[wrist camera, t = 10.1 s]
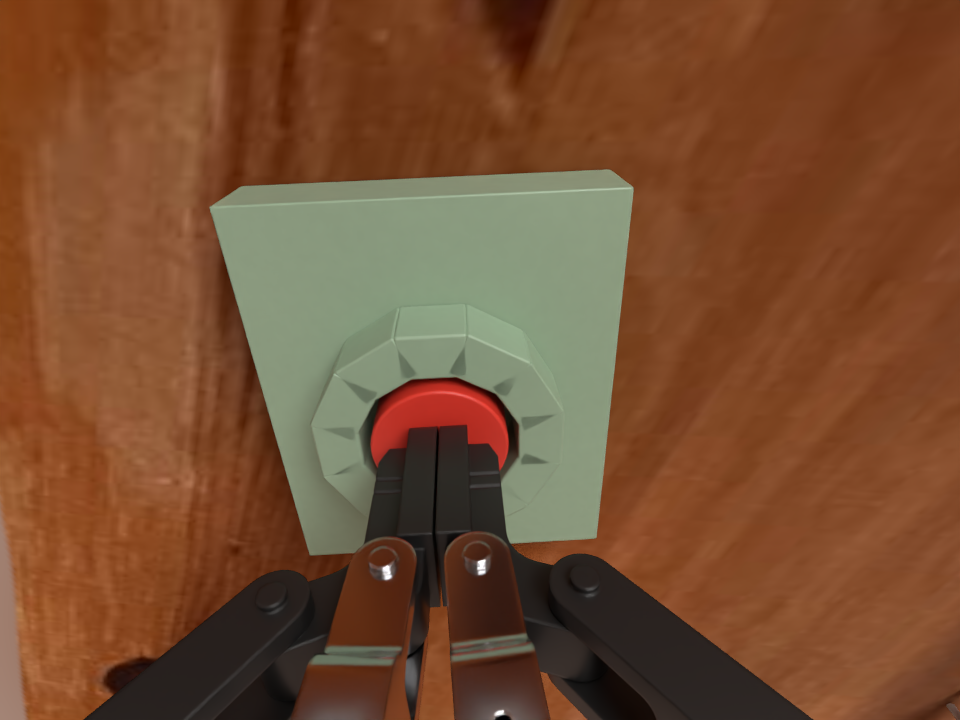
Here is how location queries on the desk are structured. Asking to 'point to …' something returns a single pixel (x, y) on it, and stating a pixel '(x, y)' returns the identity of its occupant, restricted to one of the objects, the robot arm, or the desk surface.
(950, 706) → the figurine
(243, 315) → the button block
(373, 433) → the red button
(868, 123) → the desk surface
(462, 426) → the robot arm
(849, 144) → the desk surface
